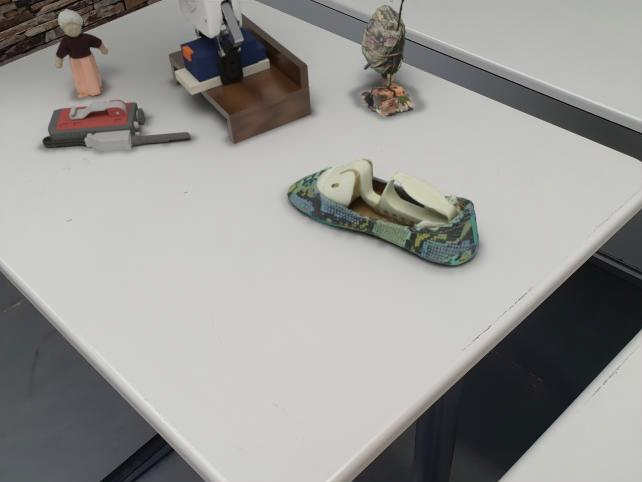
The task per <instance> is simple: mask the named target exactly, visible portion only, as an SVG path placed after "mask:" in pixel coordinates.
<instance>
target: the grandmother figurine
mask: <svg viewBox="0 0 642 482" xmlns="http://www.w3.org/2000/svg"><path fill="white" fill-rule="evenodd" d="M57 23H58V25H59V28H60V29H62V31H63V33H64V34H65V35H66V36H63V37H62V38H61V40H60V42H59V44H58V47H57V48H56V49H57V50H56V52H55V62H54V66H55V68H56V69H59V70H61V69H62V68H63V67H64V65H63V63H64V59H65V58H66V57H67V56H68V62H69V63H68V64H69V67H70V68H69V69H70V72H71V76H72V80H73V83H74V88H75V90H76V93H77V97H78V99H79V98H80V99H82V98H85V97H87V96H91V97H92V96H97V95H100V94H101V93H102V92H103V90H104V89H103V88H102V87H103V82H102V78H101V74H100V71H99V67H98V64H97V61H96V58H95V56H94V53H93V52H92V51H91V49H96V50H97V49H98V50H99V51H100V52H101V54H103V55H108V54H109V52H110V51H109V48H107V47H106V46H105V44H104V42H103V40H102V39H101V38H99V37H97V36H96V35H93V34H91V33H85V32H82V26H83V25H84V19H83V17H82V16H81V15H80V14H79V13H78V12H77V11H75V10H71V9H69V8H67V9H64V10H63V11H62V10H61V12H59V13H58V16H57Z"/></svg>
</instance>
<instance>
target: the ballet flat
mask: <svg viewBox="0 0 642 482" xmlns="http://www.w3.org/2000/svg"><path fill="white" fill-rule="evenodd" d="M395 181H396V182H397V183H398V184H399V185H398V184H397V183H395ZM286 195H287V198H288V200H289V202H290V203H291V204H292V205H293V206H294V207H295V208H297V209H298V210H299V211H301V212H302V213H304V214H305V215H306V216H308V217H310V218H312V219H314V220H316V221H318V222H320V223H323V224H326V225H330V226H334V227H339V228H342V229H343V228H344V229H349V230H352V231H353V230H354V231H357V232H361V233H365V234H368V235H372V236H373V237H378V238H381V239H383V240H385V241H387V242H390V243H392V244H393V245H397V246H399V247H400V248H403V249H405V250H407V251H408V252H410V253H413V254H414V255H416V256H418V257H420V258H422V259H425V260H427V261H429V262H432V263H437V264H441V265H445V266H459V265H462V264H464V263H466V262H467V261H469V260H471V259H472V258H473V257H474V256H475V255H476V253H477V251H478V249H479V245H480V244H479V243H480V236H479V232H478V224H477V215H476V214H477V213H476V210H475V205H474V203H473V201H472V200H470V199H467V198H465V197H461V196H460V197H459V196H458V195H457V193H451V194H450V195H444V194H443V193H442V191H440V190H439V188H436V187H435V186H434V185H432V184H431V183H429V182H428V181H425V180H424V179H422V178H419V177H415V176H412V175H408V174H405V173H403V172H400V171H399V172H398V171H397V172H396V173H394V174H393V175H392V176H391V177H390V179H389V180H388V181H387V180H385V179H382V178H379V177H377V176H374V164H373V161H372V159H370V158H369V157H364V158H360V159H355V160H353V161H351V162H349V163H347V164H344V165H343V164H342V165H341V164H339V165H335V166H328V167H326V168H323V169H321V170H320V171H317V172H314V173H311V174H308V175H306V176H304V177H302V178H300V179H299V180H297V181H296V182H293V183H292V184H291V186H289V188H288V189H287V193H286Z"/></svg>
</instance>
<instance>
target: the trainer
mask: <svg viewBox="0 0 642 482" xmlns="http://www.w3.org/2000/svg"><path fill="white" fill-rule="evenodd" d="M240 31H241V33H242V36H243V39H244V41H243V42H242V44H241V46H240V48H241V52H240V56H241V63H242V69H243V77H246V76H248V75H251V74H254V73H257V72H260V71H263V70H266V69H269V68H270V63H269V60H268V59H267V58H266V51H265V46H263V45H262V44H261V43H260V42H258V41H257V40H256V39H255V38H254V37H253V36H252V35H250V34H249V33H248V32H247V31H246V30H244V29H243V28H242V27H241V28H240ZM199 38H200V37H199ZM228 38H229V34H227V35H224V36H221V39H222V43H223V45H224V43H225V41H226V40H228ZM179 46H180V50H181V51H182V55H183V60H184V65H185V68H183V69H180V70H177V71H175V75H176V79H177V80H178V81H179V82H180V83H181V84H180V85H181V86H183V88H184V89H185V90H186V91H187V92H188V93H189V94H190V95H191V96H194V95H196V94H199V93H200V92H202V91H205V90H208V89H211V88H214V87H217V86H220V85H222V83H221V80H220V74H219V69H218V63H217V57H216V56H217V55H219V53H218V50H217V46H216V43H215V39H214V38H209V37H207V36H206V37H203V38H200V39H195V40H191V41H187V42H184V43H182V44H180V45H179Z"/></svg>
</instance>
